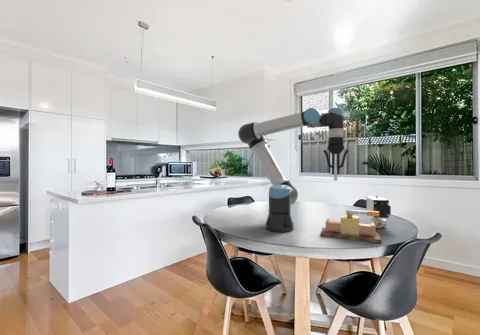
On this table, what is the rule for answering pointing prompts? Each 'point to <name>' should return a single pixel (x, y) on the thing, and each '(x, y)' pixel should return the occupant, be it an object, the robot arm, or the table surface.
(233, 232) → the table surface
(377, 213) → the lever
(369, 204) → the ball valve
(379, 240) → the pipe board
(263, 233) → the table surface
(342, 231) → the valve body
